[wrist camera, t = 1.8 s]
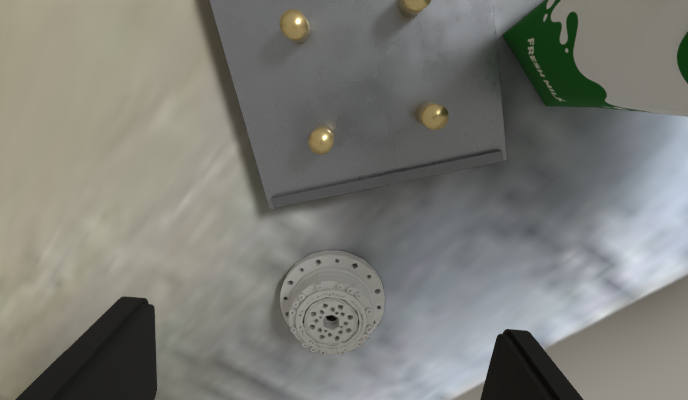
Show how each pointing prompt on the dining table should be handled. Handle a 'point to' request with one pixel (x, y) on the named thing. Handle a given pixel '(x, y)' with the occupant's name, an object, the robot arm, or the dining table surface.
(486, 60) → the plate
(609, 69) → the milk carton
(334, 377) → the dining table surface
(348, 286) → the mechanical component
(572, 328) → the dining table surface
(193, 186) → the dining table surface
